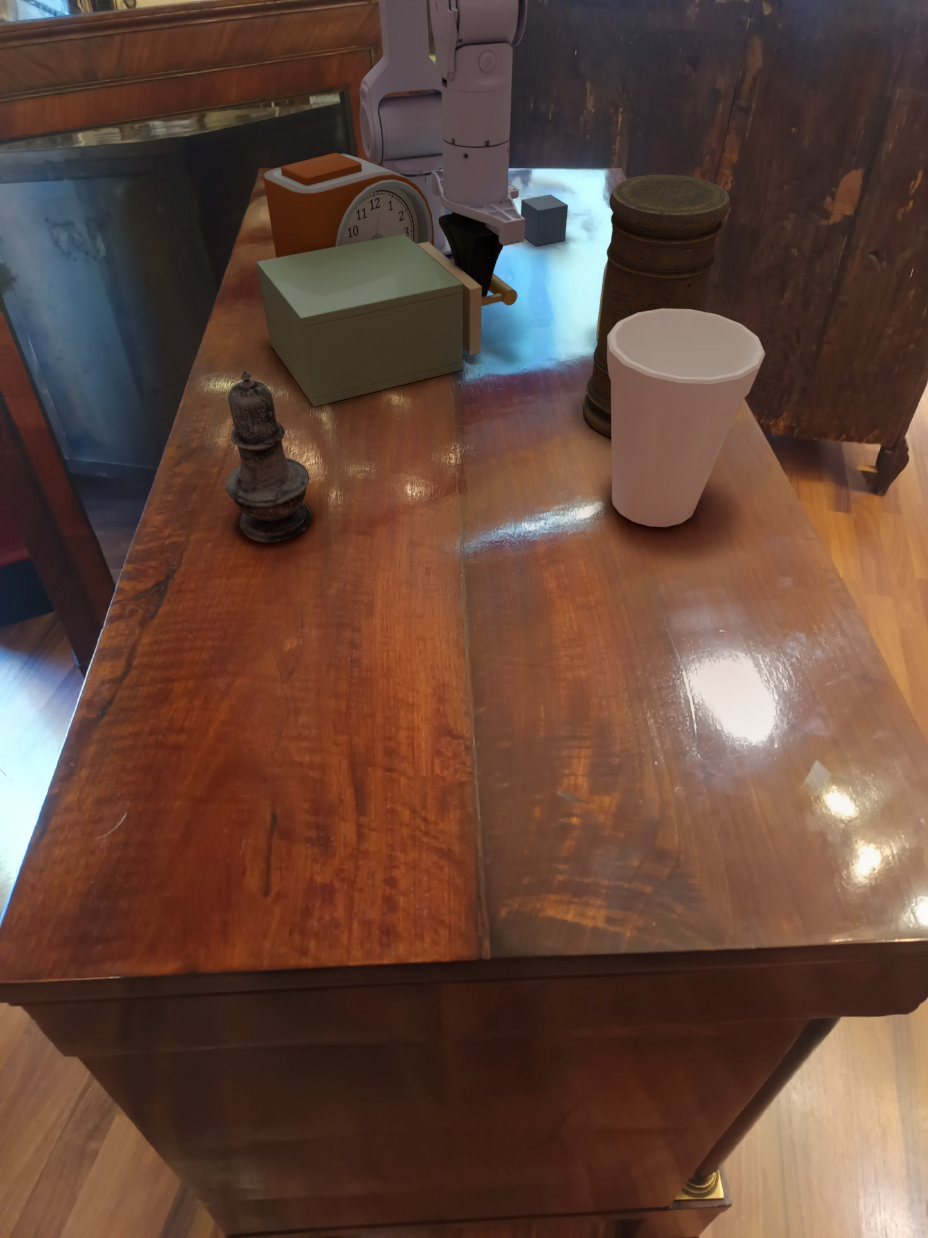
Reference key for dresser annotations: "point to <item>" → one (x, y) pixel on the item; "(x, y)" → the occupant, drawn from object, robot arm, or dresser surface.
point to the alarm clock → (342, 204)
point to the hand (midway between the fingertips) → (474, 295)
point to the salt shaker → (264, 468)
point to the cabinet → (362, 317)
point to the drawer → (473, 298)
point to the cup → (673, 406)
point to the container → (653, 261)
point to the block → (544, 219)
